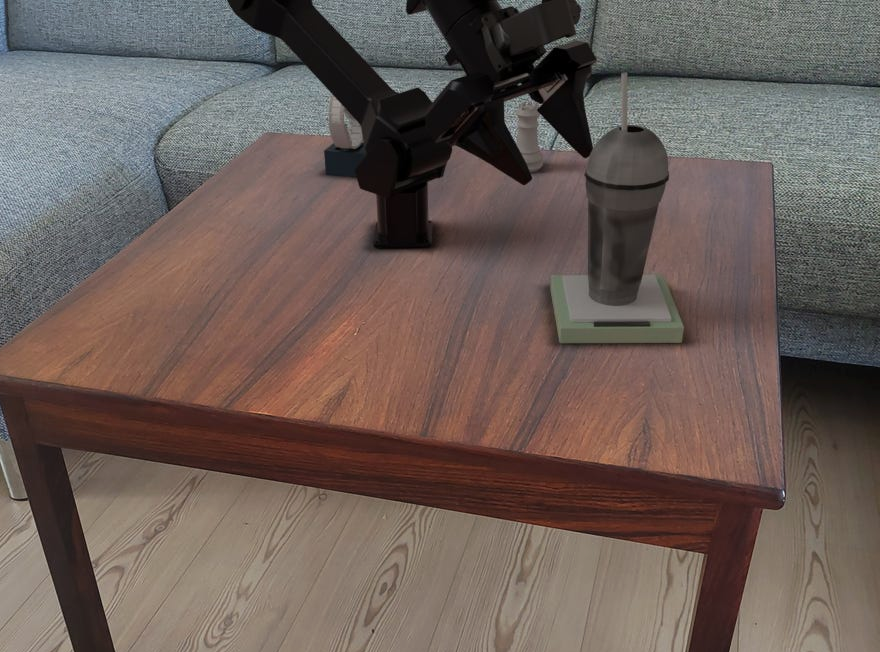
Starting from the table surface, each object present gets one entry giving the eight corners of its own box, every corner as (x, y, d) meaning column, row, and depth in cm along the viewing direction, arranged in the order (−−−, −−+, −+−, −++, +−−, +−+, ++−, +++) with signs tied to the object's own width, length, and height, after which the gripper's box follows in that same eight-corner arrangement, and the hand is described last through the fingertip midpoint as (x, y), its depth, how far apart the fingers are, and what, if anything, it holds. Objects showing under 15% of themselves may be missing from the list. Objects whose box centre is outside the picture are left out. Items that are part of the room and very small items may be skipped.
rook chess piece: (503, 171, 121) (505, 107, 116) (515, 160, 124) (517, 98, 120) (536, 175, 120) (540, 111, 115) (547, 164, 123) (551, 101, 118)
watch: (382, 162, 126) (378, 76, 119) (359, 182, 120) (354, 93, 113) (343, 158, 127) (337, 73, 121) (319, 178, 121) (312, 90, 115)
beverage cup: (665, 307, 86) (700, 78, 74) (590, 317, 85) (613, 87, 73) (633, 274, 91) (660, 57, 79) (562, 283, 90) (579, 64, 78)
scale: (681, 343, 84) (685, 323, 83) (559, 343, 85) (561, 324, 84) (661, 288, 93) (663, 270, 92) (550, 289, 94) (551, 271, 93)
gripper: (449, -25, 74) (551, 145, 74) (589, -57, 84) (678, 92, 84) (383, 64, 83) (474, 215, 83) (517, 26, 93) (597, 160, 93)
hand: (559, 168), depth 86 cm, fingers open, 9 cm apart
